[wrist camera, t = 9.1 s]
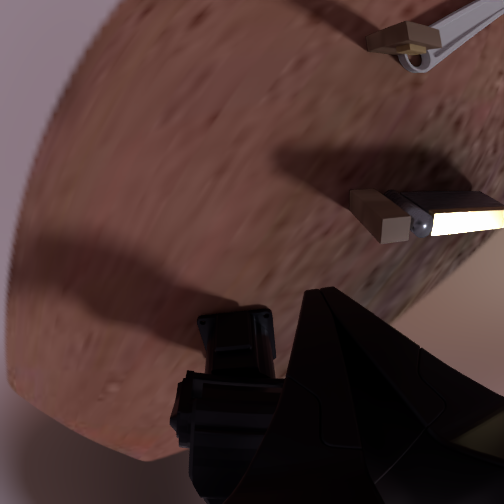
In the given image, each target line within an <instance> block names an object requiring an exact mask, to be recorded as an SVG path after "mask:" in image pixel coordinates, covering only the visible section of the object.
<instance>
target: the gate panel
mask: <svg viewBox="0 0 504 504" xmlns="http://www.w3.org/2000/svg"><path fill="white" fill-rule="evenodd" d="M384 196H385V197H387V198H388V199H389V200H391V201H392V202H393V203H395V204H396V205H397V206H399V207H400V208H401V209H403V210H404V211H405V212H407V213H408V214H409V215H410V216H411V223H410V230H411V231H412V232H413V233H414V234H415V235H416V236H417V237H420V238H423V237H426V236H427V235H429V234H430V235H431V236H432V235H441V234H451V233H460V232H469V231H478V230H487V229H496V228H504V205H503V204H501V203H500V202H498V201H496V200H495V199H493V198H491V197H489V196H488V195H486V194H484V193H482V192H480V191H424V192H400V194H399V193H398V192H396V191H394V190H389V191H387V192H385V193H384Z"/></svg>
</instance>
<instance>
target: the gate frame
mask: <svg viewBox="0 0 504 504" xmlns="http://www.w3.org/2000/svg"><path fill="white" fill-rule="evenodd" d="M366 42H367V49H368V52H376V53H384V54H391V55H401V54H408V55H418V54H425V53H426V50H430V49H438V48H442V44H441V38H440V31H439V29H435V28H432V27H428V26H425V25H421V24H417V23H413V22H409V21H404V22H401V23H398V24H396V25H393V26H390V27H388V28H385V29H383V30H380V31H378V32H375V33H373V34H370V35H368V36H366ZM349 211H350V212H351V213H352V214H353V215H354V216H355V217H356V218H357V219H358V220H359V221H360V222H361V223H362V224H363V225H364V226H365V227H366V229H367V230H368V231H369V232H370V233H371V234H372V235H373V236H374V237H375V238H376V240H377V241H378V242H379V243H380V244H385V243H393V242H400V241H407V240H408V238H409V231H410V223H411V216H410V215H409V214H408V213H407V212H405V211H404V210H403V209H401V208H400V207H399V206H397V205H396V204H395V203H393V202H392V201H391V200H389V199H388V198H387V197H385V196H384V195H382V194H381V193H380V192H378V191H377V190H375V189H374V188H372V189H357V190H350V208H349Z"/></svg>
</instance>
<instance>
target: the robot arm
mask: <svg viewBox="0 0 504 504" xmlns="http://www.w3.org/2000/svg"><path fill="white" fill-rule="evenodd" d="M264 314H268V315H264ZM202 321H205V322H202ZM197 324H198V327H199V331H200V334H201V337H202V340H203V343H204V346H205V349H206V352H207V353H206V365H205V373H196V372H194V371H189V370H187V374H186V378H183V381H182V382H180V383H178V387H177V394H176V400H175V404H174V407H173V410H172V413H171V417H170V425H171V427H172V428H173V429H174V430H175V431H176V435H177V438H179V447H182V448H190V454H189V456H190V457H189V477H190V479H191V481H192V482H193V485H194V487H195V489H196V491H197V492H198V494H199V496H200V497H201V498H204V500H205V502H206V503H207V504H504V397H503V396H501V395H499V394H497V393H495V392H493V391H491V390H490V389H488V388H486V387H484V386H483V385H481V384H479V383H477V382H476V381H474V380H472V379H470V378H469V377H467V376H465V375H463V374H462V373H460V372H458V371H457V370H455V369H453V368H452V367H450V366H448V365H447V364H445V363H443V362H442V361H441V360H439V359H438V358H436V357H435V356H433V355H431V354H430V353H429V352H427V351H426V350H424V349H423V348H420V346H419V345H417V344H416V343H415V342H413V341H412V340H410V339H409V338H407V337H406V336H405V335H403V334H402V333H400V332H399V331H397V330H396V329H395V328H393V327H392V326H390V325H389V324H387V323H386V322H385V321H383V320H382V319H380V318H379V317H377V316H376V315H375V314H373V313H372V312H370V311H369V310H367V309H366V308H364V307H363V306H361V305H360V304H359V303H357V302H356V301H354V300H353V299H351V298H350V297H348V296H347V295H345V294H344V293H343V292H341V291H340V290H338V289H337V288H335V287H325V288H321V289H320V290H319V289H311V290H306V291H305V292H304V296H303V301H302V305H301V310H300V315H299V320H298V325H297V329H296V334H295V338H294V343H293V347H292V351H291V356H290V360H289V364H288V368H287V373H286V378H285V379H278V378H275V370H274V363H273V360H274V359H275V358H276V350H275V338H274V327H273V317H272V311H271V310H270V309H257V310H249V311H240V312H231V313H222V314H212V315H202V316H199V317H198V319H197Z"/></svg>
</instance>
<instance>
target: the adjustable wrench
mask: <svg viewBox="0 0 504 504" xmlns="http://www.w3.org/2000/svg"><path fill="white" fill-rule="evenodd" d="M503 13H504V0H475V1H473V2H472V3H470V4H468V5H466V6H464V7H462V8H460V9H458V10H456V11H455V12H453V13H451V14H449V15H447V16H446V17H444V18H442V19H440V20H439V21H437V22H435V23H433V24H432V25H430V26H428V27H432V28H435V29H439V31H440V38H441V44H442V48H438V49H430V50H426V53H425V54H420V55H421V58H422V63H421V65H420V66H419V67H414V66H413V65H412V64H411V63H410V61H409V60H408V57H407V54H401V55H398V58H399V61H400V63H401V65H402V66H403V67H404V68H405V69H406V70H408V71H409V72H412V73H423V72H427V71H429V70H430V69H431V68H433V67H434V66H435V65H436V64H438V63H439V62H440V61H441V60H443V59H444V58H445V57H447V56H448V55H449V54H450V53H452V52H453V51H454V50H456V49H457V48H458V47H459V46H461V45H462V44H463V43H465V42H466V41H467V40H469V39H470V38H471V37H473V36H474V35H475V34H477V33H478V32H479V31H481V30H482V29H483V28H485V27H486V26H487V25H489V24H490V23H491V22H493V21H494V20H495V19H497V18H498V17H499V16H501V15H502V14H503Z"/></svg>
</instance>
